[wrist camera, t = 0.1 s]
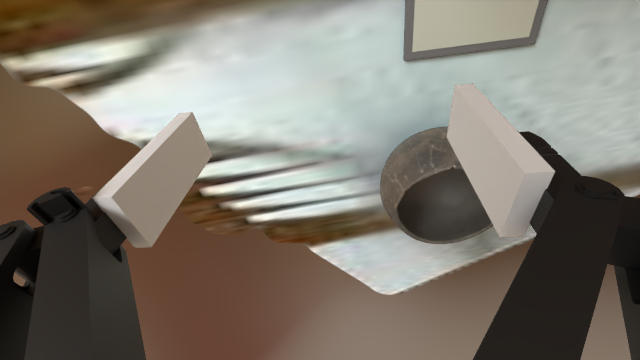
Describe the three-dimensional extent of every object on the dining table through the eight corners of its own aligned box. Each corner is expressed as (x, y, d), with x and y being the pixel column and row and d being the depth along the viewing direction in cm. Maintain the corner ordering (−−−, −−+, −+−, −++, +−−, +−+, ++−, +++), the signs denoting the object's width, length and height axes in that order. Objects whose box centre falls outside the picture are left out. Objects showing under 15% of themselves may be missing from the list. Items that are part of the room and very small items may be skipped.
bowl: (410, 93, 41) (430, 137, 32) (513, 132, 44) (560, 184, 34) (360, 180, 52) (363, 232, 43) (444, 207, 55) (466, 263, 45)
